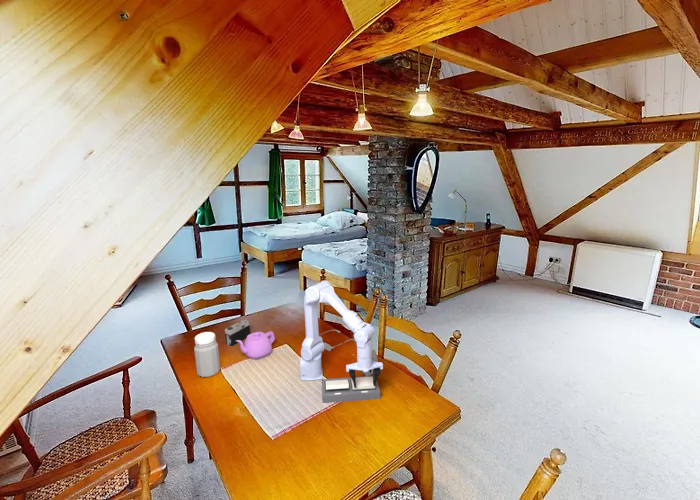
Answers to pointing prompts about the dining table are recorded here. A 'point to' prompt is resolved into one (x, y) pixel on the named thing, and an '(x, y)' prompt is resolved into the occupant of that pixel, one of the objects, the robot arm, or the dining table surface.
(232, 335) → the camera
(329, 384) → the left paddle
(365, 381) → the right paddle
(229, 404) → the dining table surface
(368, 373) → the electrical switch
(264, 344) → the teapot
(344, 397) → the switch box
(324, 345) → the eyeglasses
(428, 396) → the dining table surface
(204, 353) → the jar
